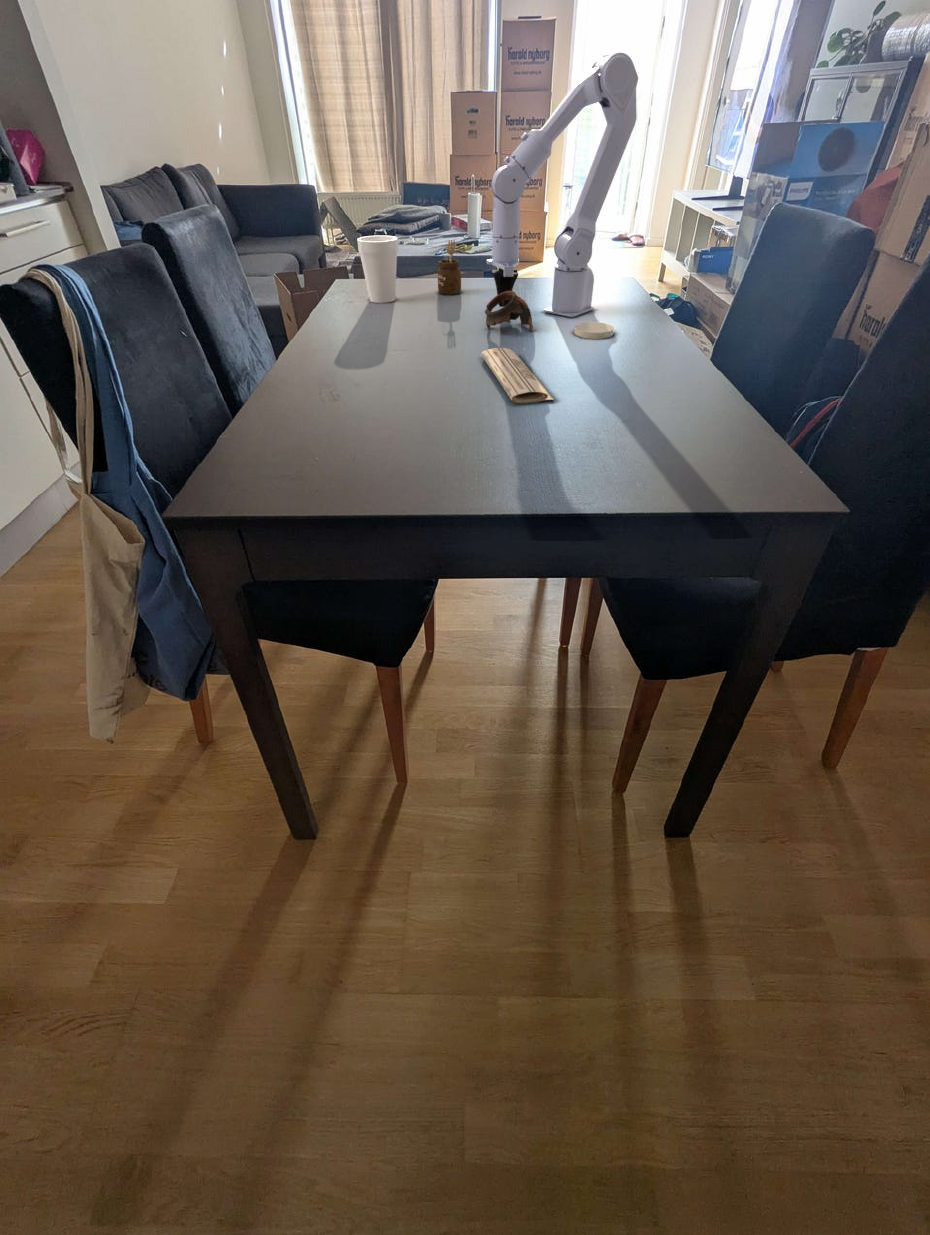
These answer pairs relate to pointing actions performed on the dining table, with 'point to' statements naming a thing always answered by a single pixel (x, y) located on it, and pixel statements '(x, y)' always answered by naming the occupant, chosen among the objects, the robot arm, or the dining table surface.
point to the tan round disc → (593, 330)
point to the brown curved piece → (508, 310)
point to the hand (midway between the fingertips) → (503, 306)
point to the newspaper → (515, 376)
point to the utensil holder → (449, 274)
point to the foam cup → (379, 266)
